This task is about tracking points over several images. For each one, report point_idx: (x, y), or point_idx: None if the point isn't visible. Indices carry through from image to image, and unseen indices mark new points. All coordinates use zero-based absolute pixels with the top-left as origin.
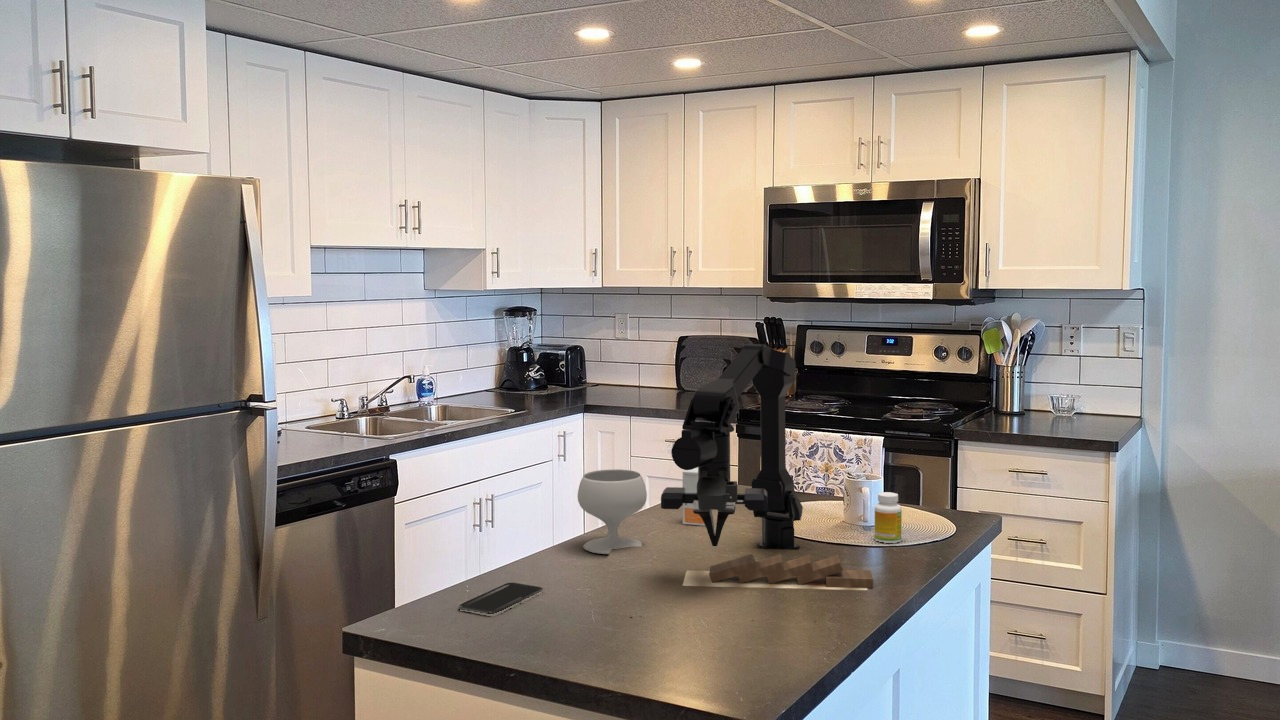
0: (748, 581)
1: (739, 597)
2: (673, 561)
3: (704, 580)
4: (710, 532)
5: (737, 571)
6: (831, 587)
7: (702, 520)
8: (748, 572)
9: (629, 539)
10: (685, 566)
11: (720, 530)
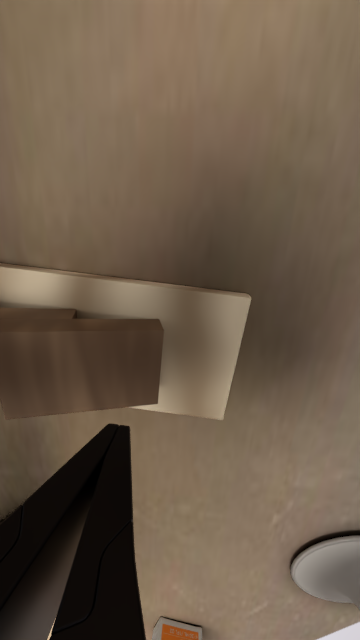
0: None
1: (81, 228)
2: (240, 492)
3: (180, 340)
4: (113, 492)
5: (65, 323)
6: None
7: (168, 633)
8: (30, 317)
9: (317, 588)
10: (217, 464)
11: (35, 499)
